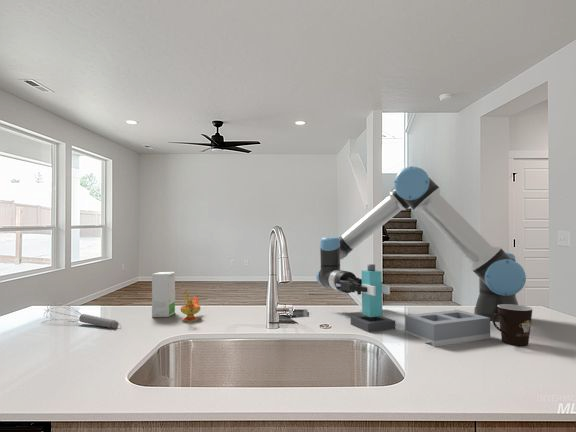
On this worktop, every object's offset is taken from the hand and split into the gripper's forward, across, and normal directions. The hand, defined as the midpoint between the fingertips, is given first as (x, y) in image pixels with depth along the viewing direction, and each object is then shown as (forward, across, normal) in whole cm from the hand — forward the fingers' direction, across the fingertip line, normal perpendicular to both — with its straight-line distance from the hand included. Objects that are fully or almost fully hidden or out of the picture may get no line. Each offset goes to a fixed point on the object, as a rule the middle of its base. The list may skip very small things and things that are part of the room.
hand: (381, 290), depth 120 cm
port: (+10, -16, -13) cm, 23 cm away
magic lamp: (-42, +51, -13) cm, 67 cm away
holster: (-5, 0, -13) cm, 14 cm away
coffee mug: (+21, -28, -14) cm, 37 cm away
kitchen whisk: (-48, +86, -12) cm, 99 cm away
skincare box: (-51, +60, -12) cm, 80 cm away
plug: (-5, 0, -8) cm, 10 cm away
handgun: (-31, +18, -14) cm, 39 cm away
